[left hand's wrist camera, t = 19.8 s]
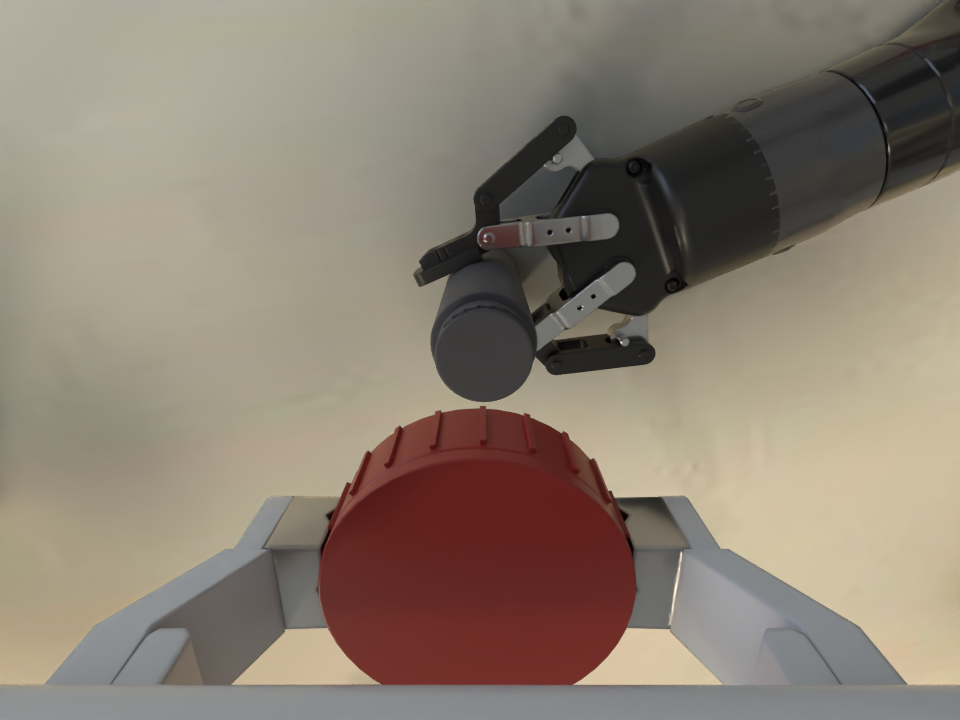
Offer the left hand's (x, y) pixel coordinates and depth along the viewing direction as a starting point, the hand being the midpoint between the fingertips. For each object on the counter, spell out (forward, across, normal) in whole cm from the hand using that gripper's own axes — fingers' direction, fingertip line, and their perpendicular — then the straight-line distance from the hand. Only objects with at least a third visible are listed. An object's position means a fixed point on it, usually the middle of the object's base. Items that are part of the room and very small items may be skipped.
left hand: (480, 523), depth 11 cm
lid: (-2, 0, 0) cm, 2 cm away
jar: (+25, 0, 0) cm, 25 cm away
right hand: (+19, -2, -1) cm, 19 cm away
